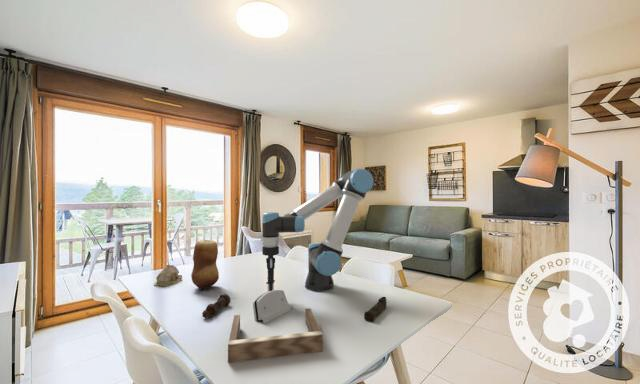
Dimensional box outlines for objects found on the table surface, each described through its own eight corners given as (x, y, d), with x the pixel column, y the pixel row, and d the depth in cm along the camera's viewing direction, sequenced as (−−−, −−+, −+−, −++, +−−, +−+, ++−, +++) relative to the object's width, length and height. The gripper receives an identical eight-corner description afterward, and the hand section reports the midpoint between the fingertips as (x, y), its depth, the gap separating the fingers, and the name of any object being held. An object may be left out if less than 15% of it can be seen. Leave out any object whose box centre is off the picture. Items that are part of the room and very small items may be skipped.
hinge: (263, 323, 106) (257, 296, 108) (255, 325, 109) (249, 298, 111) (292, 308, 120) (286, 285, 122) (284, 310, 123) (278, 287, 125)
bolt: (203, 324, 110) (223, 308, 125) (213, 318, 109) (232, 303, 124) (196, 311, 111) (217, 296, 126) (206, 305, 110) (226, 291, 125)
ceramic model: (167, 287, 150) (167, 268, 150) (149, 285, 152) (149, 267, 152) (185, 279, 163) (185, 262, 164) (169, 278, 166) (169, 261, 166)
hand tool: (373, 323, 106) (373, 311, 106) (363, 321, 109) (363, 308, 109) (391, 307, 122) (391, 296, 122) (383, 305, 124) (383, 294, 124)
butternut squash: (221, 289, 146) (221, 240, 146) (193, 294, 138) (193, 243, 139) (214, 282, 157) (214, 237, 158) (188, 287, 150) (188, 239, 150)
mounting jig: (310, 321, 108) (310, 307, 108) (322, 351, 87) (322, 333, 87) (234, 329, 102) (234, 314, 102) (227, 362, 81) (227, 344, 81)
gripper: (262, 243, 136) (262, 292, 136) (262, 248, 123) (262, 302, 123) (277, 243, 138) (277, 291, 137) (279, 248, 125) (279, 301, 125)
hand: (270, 297), depth 130 cm, fingers closed
